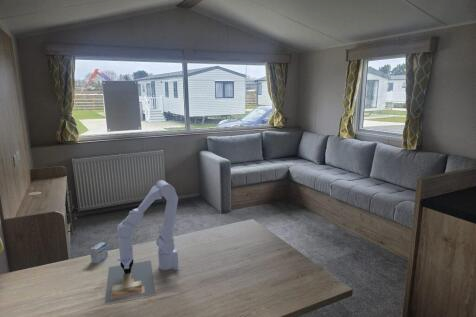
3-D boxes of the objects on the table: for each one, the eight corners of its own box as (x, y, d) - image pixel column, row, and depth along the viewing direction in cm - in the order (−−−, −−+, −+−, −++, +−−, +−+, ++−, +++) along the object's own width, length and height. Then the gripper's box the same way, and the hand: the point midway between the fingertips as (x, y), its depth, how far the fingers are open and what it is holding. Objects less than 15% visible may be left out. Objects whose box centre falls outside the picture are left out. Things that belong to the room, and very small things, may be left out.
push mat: (150, 262, 160) (150, 260, 160) (155, 295, 133) (155, 293, 133) (109, 269, 154) (109, 267, 153) (104, 305, 127) (104, 303, 126)
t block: (141, 276, 146) (140, 271, 145) (141, 290, 135) (141, 285, 135) (113, 280, 142) (113, 275, 141) (112, 295, 131) (111, 290, 131)
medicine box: (99, 265, 157) (97, 249, 155) (91, 264, 158) (89, 248, 156) (108, 257, 165) (107, 242, 163) (100, 256, 166) (99, 241, 164)
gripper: (117, 242, 148) (119, 268, 150) (115, 257, 134) (118, 285, 137) (132, 240, 150) (134, 266, 152) (133, 254, 136) (135, 282, 139)
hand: (128, 275), depth 145 cm, fingers closed
